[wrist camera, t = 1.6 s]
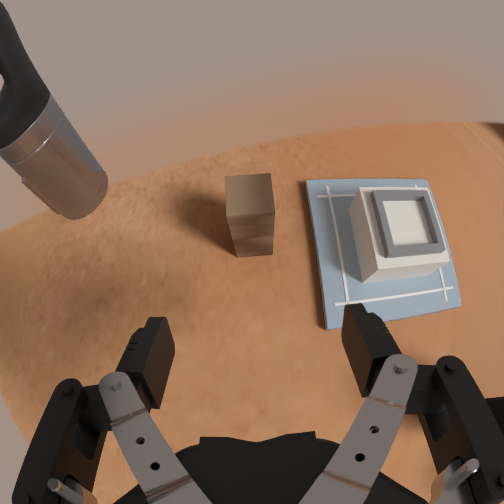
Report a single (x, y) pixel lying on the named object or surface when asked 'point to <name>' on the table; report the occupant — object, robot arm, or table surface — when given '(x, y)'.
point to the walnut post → (250, 213)
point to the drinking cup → (497, 410)
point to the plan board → (351, 260)
